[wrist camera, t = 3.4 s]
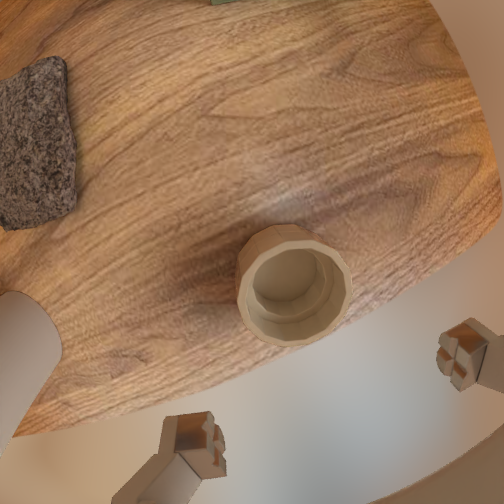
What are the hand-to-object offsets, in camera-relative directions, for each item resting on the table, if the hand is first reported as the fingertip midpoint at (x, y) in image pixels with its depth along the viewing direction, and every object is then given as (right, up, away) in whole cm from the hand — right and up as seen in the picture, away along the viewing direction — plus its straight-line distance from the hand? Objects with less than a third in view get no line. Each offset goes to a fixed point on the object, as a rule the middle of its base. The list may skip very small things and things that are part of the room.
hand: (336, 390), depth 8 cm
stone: (-19, +12, +7) cm, 23 cm away
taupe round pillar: (-23, -3, +11) cm, 26 cm away
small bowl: (-1, +3, +11) cm, 12 cm away
